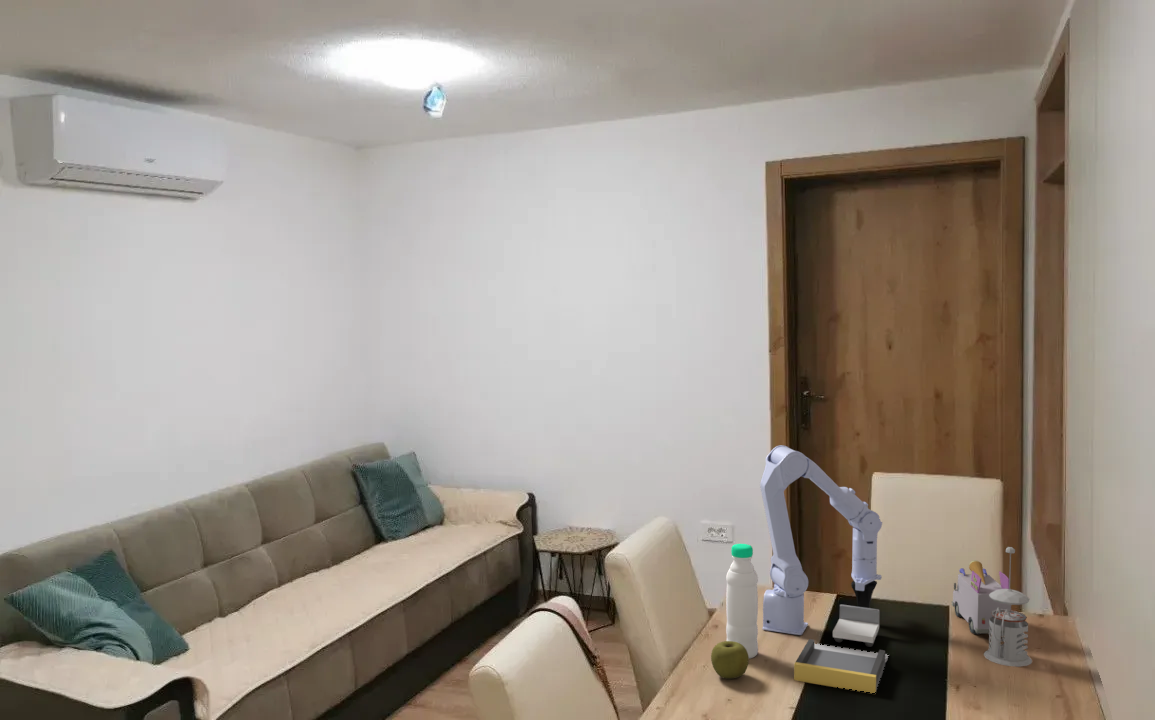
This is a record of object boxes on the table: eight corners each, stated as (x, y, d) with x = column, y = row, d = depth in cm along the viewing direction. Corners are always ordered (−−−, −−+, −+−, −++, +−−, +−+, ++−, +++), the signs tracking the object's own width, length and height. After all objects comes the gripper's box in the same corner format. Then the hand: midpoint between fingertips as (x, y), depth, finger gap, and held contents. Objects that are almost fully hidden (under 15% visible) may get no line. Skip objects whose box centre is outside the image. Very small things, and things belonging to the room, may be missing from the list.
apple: (704, 673, 199) (704, 641, 198) (736, 667, 202) (736, 635, 201) (723, 687, 192) (723, 653, 191) (755, 680, 195) (756, 647, 194)
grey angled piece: (832, 643, 214) (832, 617, 214) (840, 628, 223) (840, 604, 223) (872, 649, 211) (873, 623, 210) (879, 634, 220) (879, 609, 219)
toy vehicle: (986, 612, 233) (987, 554, 232) (1015, 642, 214) (1016, 578, 213) (948, 611, 234) (949, 553, 233) (973, 641, 215) (974, 578, 214)
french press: (1038, 656, 205) (1041, 546, 204) (1021, 673, 197) (1024, 558, 195) (992, 645, 212) (995, 538, 210) (973, 660, 204) (976, 549, 202)
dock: (794, 683, 195) (794, 664, 194) (815, 646, 215) (815, 628, 214) (875, 697, 188) (875, 677, 187) (889, 657, 208) (889, 639, 207)
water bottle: (761, 650, 211) (761, 543, 209) (753, 662, 204) (753, 551, 202) (730, 646, 214) (730, 539, 212) (722, 657, 207) (722, 547, 205)
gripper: (877, 566, 218) (876, 622, 219) (885, 550, 231) (884, 603, 232) (846, 563, 221) (846, 618, 222) (856, 547, 234) (855, 600, 235)
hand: (863, 610), depth 227 cm, fingers closed
